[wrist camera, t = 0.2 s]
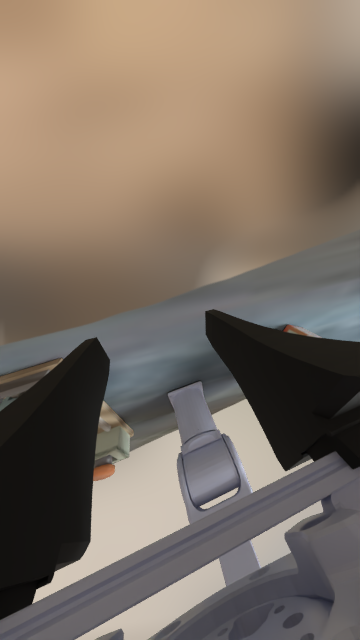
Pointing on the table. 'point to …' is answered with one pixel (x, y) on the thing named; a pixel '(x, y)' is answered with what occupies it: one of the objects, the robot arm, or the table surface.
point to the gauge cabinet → (113, 444)
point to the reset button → (103, 468)
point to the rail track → (28, 377)
